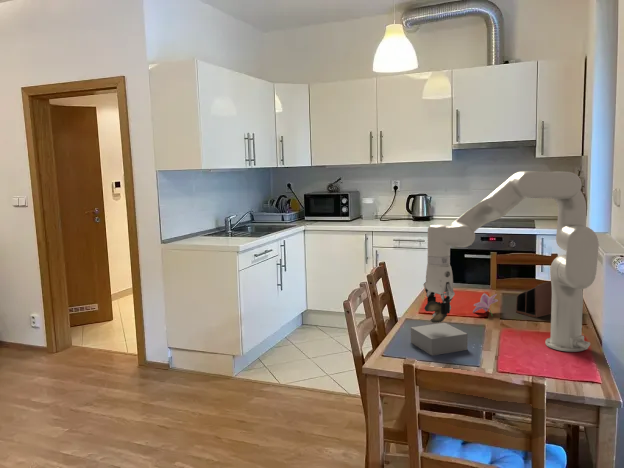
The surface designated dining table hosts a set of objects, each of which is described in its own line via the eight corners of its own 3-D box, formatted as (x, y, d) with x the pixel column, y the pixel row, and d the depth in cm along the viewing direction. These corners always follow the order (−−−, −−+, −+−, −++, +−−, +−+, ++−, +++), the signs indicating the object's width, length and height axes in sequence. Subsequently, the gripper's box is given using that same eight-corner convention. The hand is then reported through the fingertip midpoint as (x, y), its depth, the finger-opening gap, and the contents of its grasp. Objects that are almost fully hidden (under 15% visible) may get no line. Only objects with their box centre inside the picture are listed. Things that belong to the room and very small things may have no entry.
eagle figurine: (427, 310, 184) (419, 312, 176) (439, 295, 182) (431, 296, 174) (444, 324, 180) (436, 327, 173) (456, 309, 179) (449, 311, 171)
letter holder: (566, 310, 220) (567, 278, 218) (535, 318, 210) (536, 284, 208) (546, 305, 228) (546, 274, 226) (515, 312, 219) (516, 280, 217)
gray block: (467, 350, 177) (467, 333, 176) (431, 356, 172) (431, 339, 172) (444, 338, 190) (444, 322, 189) (410, 343, 186) (410, 327, 185)
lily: (503, 314, 220) (494, 293, 223) (507, 310, 209) (498, 288, 212) (475, 323, 222) (467, 301, 225) (478, 320, 210) (469, 297, 214)
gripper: (464, 263, 171) (463, 315, 173) (432, 255, 187) (432, 303, 189) (445, 265, 168) (445, 318, 170) (415, 257, 184) (415, 306, 186)
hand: (438, 310), depth 179 cm, fingers closed on eagle figurine, 7 cm apart
